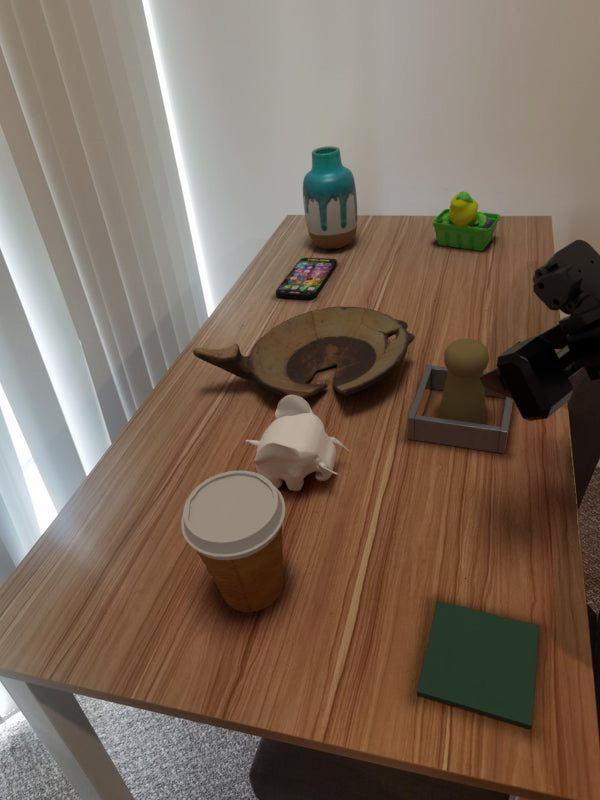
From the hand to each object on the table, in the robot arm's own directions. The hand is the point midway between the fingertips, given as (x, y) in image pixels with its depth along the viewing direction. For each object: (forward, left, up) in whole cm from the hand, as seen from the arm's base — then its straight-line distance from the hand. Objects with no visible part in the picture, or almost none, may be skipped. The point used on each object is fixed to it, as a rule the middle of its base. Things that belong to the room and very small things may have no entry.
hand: (510, 361), depth 61 cm
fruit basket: (+13, -61, -15) cm, 64 cm away
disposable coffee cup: (+21, +23, -15) cm, 35 cm away
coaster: (-1, +25, -15) cm, 29 cm away
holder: (+5, -8, -15) cm, 17 cm away
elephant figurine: (+22, +7, -15) cm, 28 cm away
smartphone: (+39, -42, -15) cm, 59 cm away
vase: (+39, -58, -15) cm, 71 cm away
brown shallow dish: (+28, -14, -15) cm, 35 cm away
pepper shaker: (+5, -8, -15) cm, 18 cm away
